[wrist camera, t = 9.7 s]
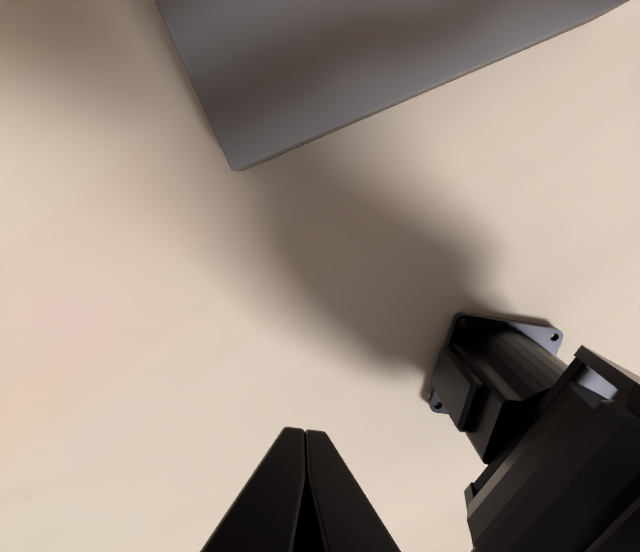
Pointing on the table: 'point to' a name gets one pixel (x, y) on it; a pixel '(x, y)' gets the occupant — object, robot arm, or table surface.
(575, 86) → the table surface
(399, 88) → the stop jig
